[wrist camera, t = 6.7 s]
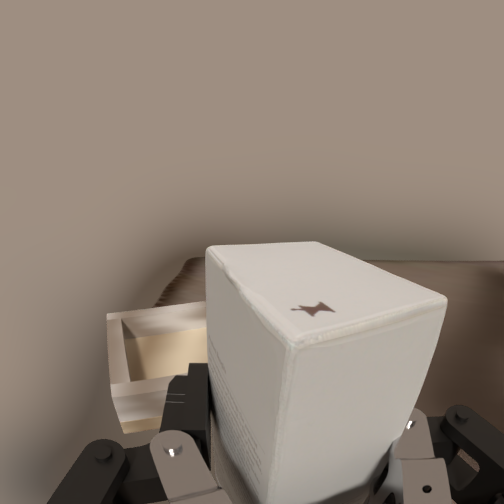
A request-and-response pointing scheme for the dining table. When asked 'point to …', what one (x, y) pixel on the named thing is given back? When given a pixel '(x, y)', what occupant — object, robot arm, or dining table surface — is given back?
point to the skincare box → (310, 369)
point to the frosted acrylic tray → (152, 358)
